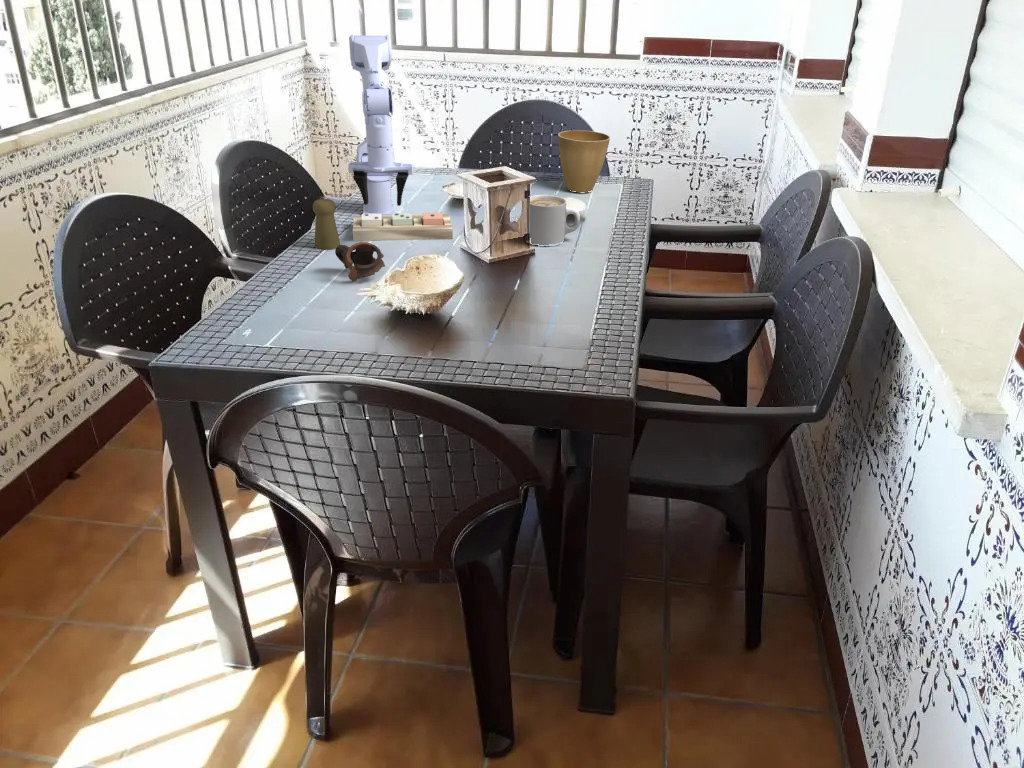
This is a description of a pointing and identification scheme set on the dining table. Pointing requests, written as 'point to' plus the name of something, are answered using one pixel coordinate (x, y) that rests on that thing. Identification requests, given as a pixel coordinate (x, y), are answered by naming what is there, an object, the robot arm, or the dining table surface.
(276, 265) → the dining table surface
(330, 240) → the cork
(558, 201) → the coffee mug
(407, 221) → the three dot key
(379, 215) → the two dot key
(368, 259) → the pottery mug
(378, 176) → the robot arm
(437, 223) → the one dot key
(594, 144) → the plant pot
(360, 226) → the wooden puzzle board
